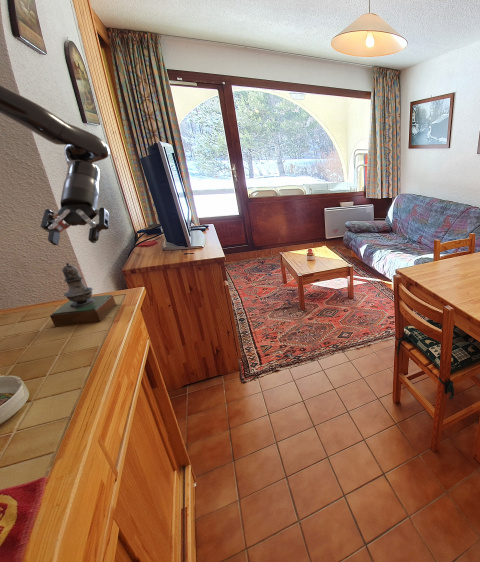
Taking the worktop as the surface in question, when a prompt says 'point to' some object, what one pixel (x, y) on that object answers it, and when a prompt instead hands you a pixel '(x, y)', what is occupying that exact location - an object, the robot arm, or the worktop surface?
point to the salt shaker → (76, 288)
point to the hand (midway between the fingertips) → (73, 242)
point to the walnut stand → (83, 311)
